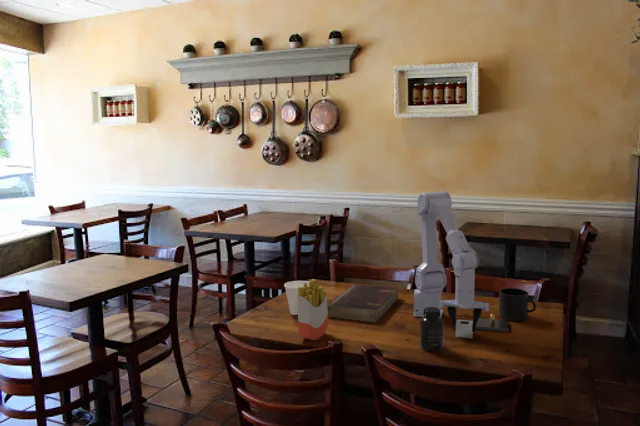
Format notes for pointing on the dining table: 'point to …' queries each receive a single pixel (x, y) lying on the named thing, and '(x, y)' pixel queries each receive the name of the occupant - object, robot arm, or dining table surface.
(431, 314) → the supplement bottle
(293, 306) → the cup
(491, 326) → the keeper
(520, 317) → the mug
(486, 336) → the dining table surface
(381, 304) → the hardback book
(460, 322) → the gray square hollow block
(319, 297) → the french fries container
